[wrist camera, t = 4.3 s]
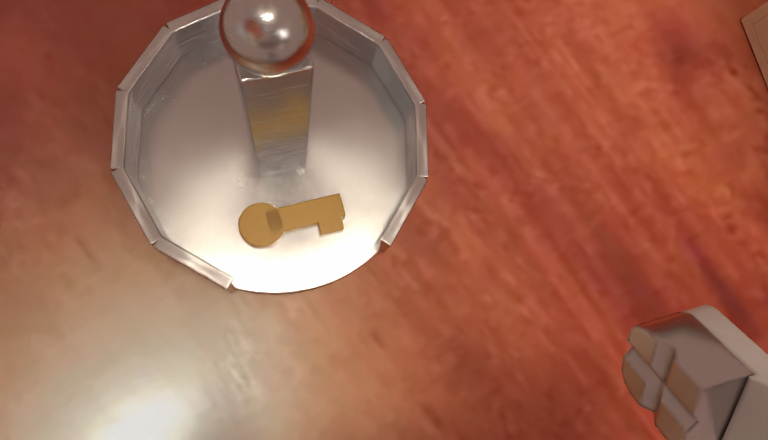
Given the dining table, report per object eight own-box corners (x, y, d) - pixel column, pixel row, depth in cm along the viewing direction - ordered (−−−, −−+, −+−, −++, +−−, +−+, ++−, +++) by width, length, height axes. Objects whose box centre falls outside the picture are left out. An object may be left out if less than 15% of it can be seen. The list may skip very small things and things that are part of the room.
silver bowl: (160, 330, 23) (32, 325, 12) (98, 49, 25) (-66, -192, 14) (452, 252, 26) (580, 184, 14) (376, -1, 27) (436, -241, 16)
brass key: (245, 255, 24) (244, 253, 23) (234, 210, 24) (233, 208, 24) (348, 229, 25) (349, 227, 24) (336, 186, 25) (337, 183, 24)
